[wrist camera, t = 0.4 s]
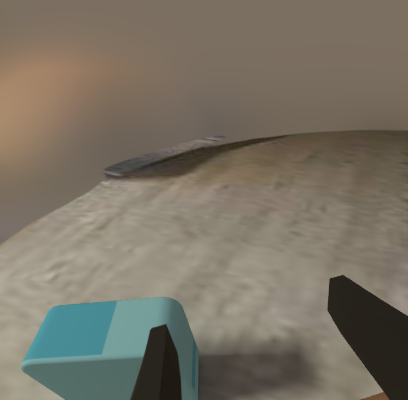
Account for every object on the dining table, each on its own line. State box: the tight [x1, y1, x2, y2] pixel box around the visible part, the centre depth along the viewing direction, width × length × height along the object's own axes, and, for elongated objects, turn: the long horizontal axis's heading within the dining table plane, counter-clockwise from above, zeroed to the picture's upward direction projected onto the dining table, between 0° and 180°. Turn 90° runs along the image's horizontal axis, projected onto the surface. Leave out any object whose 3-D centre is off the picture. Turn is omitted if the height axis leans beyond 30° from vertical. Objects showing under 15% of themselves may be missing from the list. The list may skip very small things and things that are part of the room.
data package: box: [21, 297, 199, 400], centre depth 23 cm, size 12×4×12 cm, turn 90°
